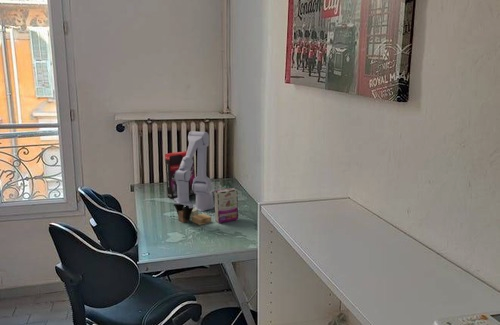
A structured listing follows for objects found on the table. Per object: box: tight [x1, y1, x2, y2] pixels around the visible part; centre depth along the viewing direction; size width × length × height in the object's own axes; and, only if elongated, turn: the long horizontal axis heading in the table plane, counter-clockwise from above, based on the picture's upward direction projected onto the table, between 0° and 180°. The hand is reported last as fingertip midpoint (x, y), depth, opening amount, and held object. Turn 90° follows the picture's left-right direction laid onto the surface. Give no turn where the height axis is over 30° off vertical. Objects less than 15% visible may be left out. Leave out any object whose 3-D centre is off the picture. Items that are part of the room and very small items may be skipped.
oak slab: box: [191, 213, 212, 226], centre depth 222 cm, size 7×7×3 cm
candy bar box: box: [214, 187, 239, 224], centre depth 222 cm, size 11×5×16 cm, turn 118°
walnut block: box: [177, 210, 191, 224], centre depth 223 cm, size 4×4×6 cm
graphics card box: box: [164, 150, 196, 200], centre depth 265 cm, size 17×7×27 cm, turn 129°
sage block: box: [190, 208, 199, 219], centre depth 229 cm, size 4×4×4 cm
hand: (183, 218), depth 223 cm, fingers open, 6 cm apart
